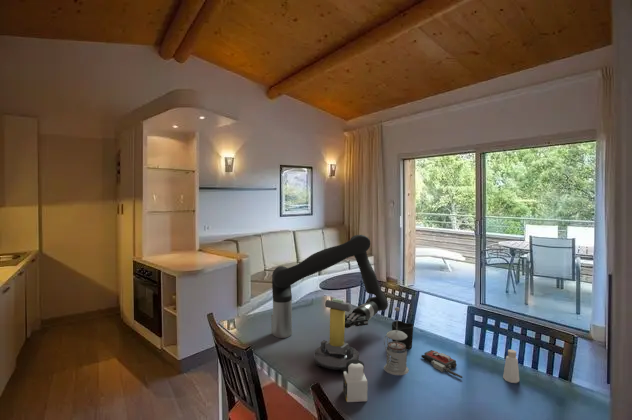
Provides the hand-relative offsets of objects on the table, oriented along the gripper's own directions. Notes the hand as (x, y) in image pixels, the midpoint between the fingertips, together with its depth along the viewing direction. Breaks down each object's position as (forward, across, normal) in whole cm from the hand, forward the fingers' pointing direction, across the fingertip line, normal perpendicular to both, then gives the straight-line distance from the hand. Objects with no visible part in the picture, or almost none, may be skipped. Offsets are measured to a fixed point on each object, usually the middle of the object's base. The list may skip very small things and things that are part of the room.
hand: (345, 325), depth 150 cm
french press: (-2, +21, +14) cm, 25 cm away
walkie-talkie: (-14, +38, +14) cm, 43 cm away
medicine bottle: (+24, +16, +14) cm, 32 cm away
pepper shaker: (-18, +61, +14) cm, 65 cm away
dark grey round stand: (+8, 0, +14) cm, 16 cm away
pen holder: (-23, +17, +14) cm, 32 cm away
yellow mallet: (+8, 0, +8) cm, 11 cm away
